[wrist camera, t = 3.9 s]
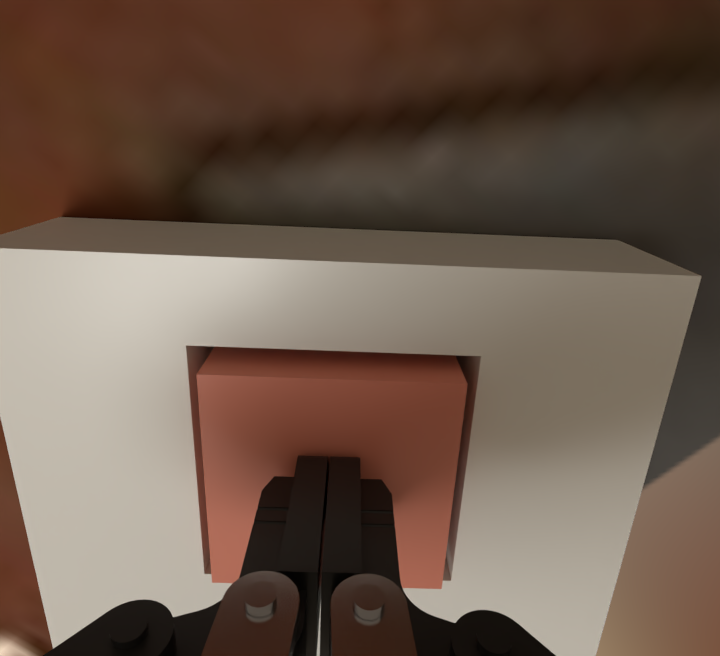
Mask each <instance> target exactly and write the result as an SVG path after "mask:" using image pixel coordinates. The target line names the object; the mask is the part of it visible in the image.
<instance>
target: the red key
mask: <svg viewBox="0 0 720 656" xmlns="http://www.w3.org/2000/svg"><path fill="white" fill-rule="evenodd" d="M196 376H197V389H198V403H199V416H200V429H201V443H202V456H203V469H204V483H205V496H206V509H207V523H208V536H209V549H210V563H211V576H212V583H234V582H235V581H236V580H238V579H239V576H240V573H241V569H242V565H243V561H244V557H245V554H246V550H247V546H248V542H249V538H250V534H251V530H252V527H253V524H254V519H255V515H256V511H257V509H258V503H259V499H260V496H261V492H262V490H263V488H264V487H265V486H266V485H267V484H268V483H269V482H270V481H271V480H272V478H273V477H274V476H284V477H294V474H295V469H296V463H297V458H298V455H301V456H328V482H329V469H330V457H331V456H336V457H360V473H361V479H382V481H383V482H384V484H385V485H386V486H387V488H388V489H389V491H390V492H391V494H392V501H393V514H394V521H395V532H396V542H397V552H398V562H399V573H400V581H401V586H402V588H421V589H442V582H443V574H444V566H445V558H446V550H447V542H448V535H449V527H450V519H451V511H452V503H453V495H454V487H455V480H456V472H457V464H458V456H459V448H460V440H461V432H462V424H463V417H464V409H465V401H466V393H467V385H468V384H467V382H466V379H465V377H464V375H463V372H462V370H461V368H460V365H459V363H458V361H457V358H456V356H455V355H434V354H406V353H379V352H352V351H324V350H297V349H270V348H242V347H214V348H213V350H212V351H211V353H210V354H209V356H208V357H207V359H206V361H205V362H204V364H203V365H202V367H201V368H200V370H199V371H198V373H197V374H196ZM327 495H328V483H327Z"/></svg>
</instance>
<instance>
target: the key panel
mask: <svg viewBox="0 0 720 656" xmlns="http://www.w3.org/2000/svg"><path fill="white" fill-rule="evenodd" d="M701 277H702V276H700V275H698V274H695V273H693V272H691V271H689V270H686V269H684V268H682V267H679V266H677V265H675V264H672V263H670V262H668V261H665V260H663V259H661V258H658V257H656V256H654V255H651V254H649V253H647V252H644V251H642V250H640V249H638V248H635V247H633V246H631V245H628V244H626V243H624V242H621V241H619V240H607V239H583V238H559V237H534V236H510V235H486V234H461V233H437V232H413V231H388V230H364V229H340V228H315V227H291V226H267V225H242V224H218V223H194V222H169V221H145V220H121V219H96V218H72V217H59V218H55V219H52V220H49V221H45V222H42V223H39V224H35V225H32V226H29V227H25V228H22V229H19V230H15V231H12V232H9V233H5V234H2V235H0V417H1V422H2V426H3V430H4V435H5V439H6V444H7V448H8V452H9V457H10V461H11V465H12V470H13V474H14V479H15V483H16V487H17V492H18V496H19V501H20V505H21V509H22V514H23V518H24V523H25V527H26V531H27V536H28V540H29V545H30V549H31V553H32V558H33V562H34V567H35V571H36V575H37V580H38V584H39V589H40V593H41V597H42V602H43V606H44V611H45V615H46V619H47V624H48V628H49V632H50V637H51V641H52V646H53V649H54V648H55V647H56V646H58V645H59V644H61V643H62V642H64V641H65V640H67V639H68V638H70V637H71V636H73V635H74V634H76V633H77V632H78V631H80V630H81V629H83V628H84V627H86V626H87V625H89V624H90V623H92V622H93V621H95V620H96V619H98V618H99V617H100V616H102V615H103V614H105V613H106V612H108V611H109V610H111V609H113V608H114V607H116V606H119V605H121V604H123V603H126V602H129V601H134V600H143V599H145V600H153V601H157V602H159V603H162V604H163V605H165V606H166V607H167V608H168V609H169V610H170V612H171V614H172V616H173V617H176V616H180V615H184V614H188V613H192V612H196V611H199V610H202V609H205V608H208V607H210V606H212V605H214V604H216V603H217V602H219V601H220V600H222V598H223V596H224V594H225V592H226V591H227V589H228V588H229V587H230V586H231V585H232V584H233V583H212V576H211V563H210V549H209V536H208V523H207V509H206V496H205V483H204V469H203V456H202V443H201V429H200V416H199V403H198V389H197V376H196V374H197V373H198V371H199V370H200V368H201V367H202V365H203V364H204V362H205V361H206V359H207V357H208V356H209V354H210V353H211V351H212V350H213V348H214V347H242V348H270V349H297V350H324V351H352V352H379V353H406V354H434V355H455V356H456V358H457V361H458V363H459V365H460V368H461V370H462V372H463V375H464V377H465V379H466V382H467V384H468V385H467V393H466V401H465V409H464V417H463V424H462V432H461V440H460V448H459V456H458V464H457V472H456V480H455V487H454V495H453V503H452V511H451V519H450V527H449V535H448V542H447V550H446V558H445V566H444V574H443V582H442V589H421V588H403V591H404V592H405V594H406V596H407V597H408V598H409V600H410V601H411V602H412V603H413V604H414V605H415V606H417V607H418V608H419V609H421V610H422V611H424V612H426V613H428V614H430V615H432V616H435V617H438V618H441V619H444V620H447V621H450V622H453V623H456V622H457V620H458V619H459V618H460V617H461V616H463V615H464V614H466V613H468V612H471V611H475V610H490V611H495V612H498V613H501V614H503V615H506V616H507V617H509V618H511V619H513V620H514V621H515V622H517V623H518V624H519V625H520V626H521V627H523V628H524V629H525V630H526V631H527V632H529V633H530V634H531V635H532V636H533V637H534V638H536V639H537V640H538V641H539V642H540V643H542V644H543V645H544V646H545V647H546V648H547V649H549V650H550V651H551V652H552V653H553V654H555V655H556V656H596V652H597V649H598V645H599V642H600V638H601V635H602V631H603V628H604V623H605V620H606V617H607V613H608V609H609V606H610V602H611V599H612V595H613V592H614V588H615V584H616V581H617V577H618V574H619V570H620V566H621V563H622V559H623V556H624V552H625V549H626V545H627V542H628V538H629V534H630V531H631V527H632V524H633V520H634V517H635V513H636V509H637V505H638V502H639V499H640V495H641V492H642V488H643V484H644V481H645V477H646V474H647V470H648V467H649V463H650V459H651V456H652V452H653V449H654V445H655V441H656V438H657V434H658V431H659V427H660V424H661V420H662V416H663V413H664V409H665V406H666V402H667V399H668V395H669V391H670V388H671V384H672V381H673V377H674V373H675V370H676V366H677V363H678V359H679V356H680V352H681V348H682V345H683V341H684V338H685V334H686V331H687V327H688V323H689V320H690V316H691V313H692V309H693V306H694V302H695V298H696V295H697V291H698V288H699V284H700V280H701ZM320 619H321V604H320V618H319V631H318V644H317V656H320Z"/></svg>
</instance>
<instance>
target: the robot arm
mask: <svg viewBox="0 0 720 656" xmlns="http://www.w3.org/2000/svg"><path fill="white" fill-rule="evenodd" d="M327 483H328V495H327ZM320 604H321V619H320V656H556V655H555V654H553V653H552V652H551V651H550V650H549V649H547V648H546V647H545V646H544V645H543V644H542V643H540V642H539V641H538V640H537V639H536V638H534V637H533V636H532V635H531V634H530V633H529V632H527V631H526V630H525V629H524V628H523V627H521V626H520V625H519V624H518V623H517V622H515V621H514V620H513V619H511V618H509V617H507V616H506V615H503V614H501V613H498V612H495V611H490V610H475V611H471V612H468V613H466V614H464V615H463V616H461V617H460V618H459V619H458V620H457V622H456V623H453V622H450V621H447V620H444V619H441V618H438V617H435V616H432V615H430V614H428V613H426V612H424V611H422V610H421V609H419V608H418V607H417V606H415V605H414V604H413V603H412V602H411V601H410V600H409V598H408V597H407V596H406V594H405V592H404V591H403V588H402V586H401V581H400V573H399V562H398V552H397V542H396V532H395V521H394V514H393V501H392V494H391V492H390V491H389V489H388V488H387V486H386V485H385V484H384V482H383V481H382V479H361V473H360V457H336V456H331V457H330V469H329V482H328V456H301V455H298V458H297V463H296V469H295V474H294V477H284V476H274V477H273V478H272V480H271V481H270V482H269V483H268V484H267V485H266V486H265V487H264V488H263V490H262V492H261V496H260V499H259V503H258V509H257V511H256V515H255V519H254V524H253V527H252V530H251V534H250V538H249V542H248V546H247V550H246V554H245V557H244V561H243V565H242V569H241V573H240V576H239V579H238V580H236V581H235V582H234V583H233V584H232V585H231V586H230V587H229V588H228V589H227V591H226V592H225V594H224V596H223V598H222V600H220V601H219V602H217V603H216V604H214V605H212V606H210V607H208V608H205V609H202V610H199V611H196V612H192V613H188V614H184V615H180V616H176V617H173V616H172V614H171V612H170V610H169V609H168V608H167V607H166V606H165V605H163V604H162V603H159V602H157V601H153V600H145V599H143V600H134V601H129V602H126V603H123V604H121V605H119V606H116V607H114V608H113V609H111V610H109V611H108V612H106V613H105V614H103V615H102V616H100V617H99V618H98V619H96V620H95V621H93V622H92V623H90V624H89V625H87V626H86V627H84V628H83V629H81V630H80V631H78V632H77V633H76V634H74V635H73V636H71V637H70V638H68V639H67V640H65V641H64V642H62V643H61V644H59V645H58V646H56V647H55V648H54V649H52V650H51V651H49V652H48V653H46V654H45V655H43V656H317V644H318V631H319V618H320Z"/></svg>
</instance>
